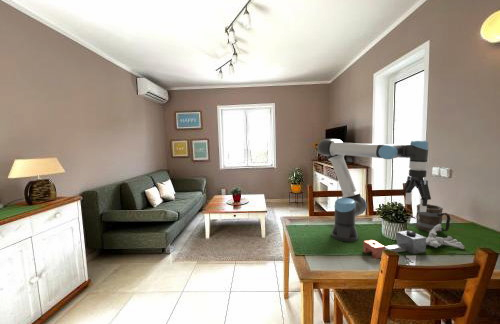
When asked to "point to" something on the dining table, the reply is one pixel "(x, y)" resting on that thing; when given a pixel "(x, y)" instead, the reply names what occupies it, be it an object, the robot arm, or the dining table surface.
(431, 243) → the white irregular jagged piece
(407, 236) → the hitch
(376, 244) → the red notched block
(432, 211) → the mug
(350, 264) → the dining table surface
